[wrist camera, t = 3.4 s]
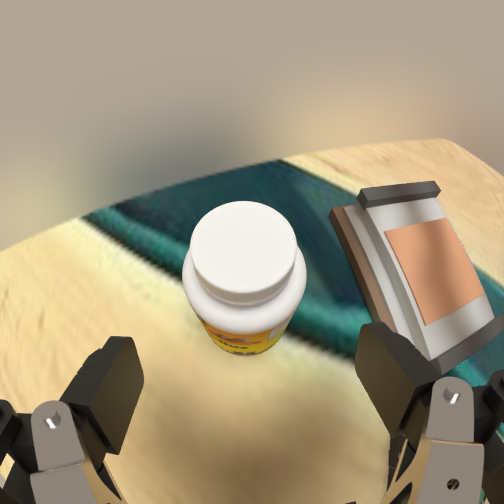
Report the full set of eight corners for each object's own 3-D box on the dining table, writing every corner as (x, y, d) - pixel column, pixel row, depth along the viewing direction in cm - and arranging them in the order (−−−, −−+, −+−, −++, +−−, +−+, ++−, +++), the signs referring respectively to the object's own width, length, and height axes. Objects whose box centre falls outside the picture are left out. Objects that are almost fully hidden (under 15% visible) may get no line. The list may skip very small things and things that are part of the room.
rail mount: (424, 200, 25) (440, 175, 21) (488, 338, 17) (517, 325, 14) (328, 216, 23) (340, 185, 20) (397, 397, 16) (427, 394, 12)
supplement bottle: (189, 319, 19) (139, 244, 10) (244, 268, 21) (241, 165, 12) (247, 374, 17) (246, 351, 8) (301, 316, 19) (346, 238, 10)
